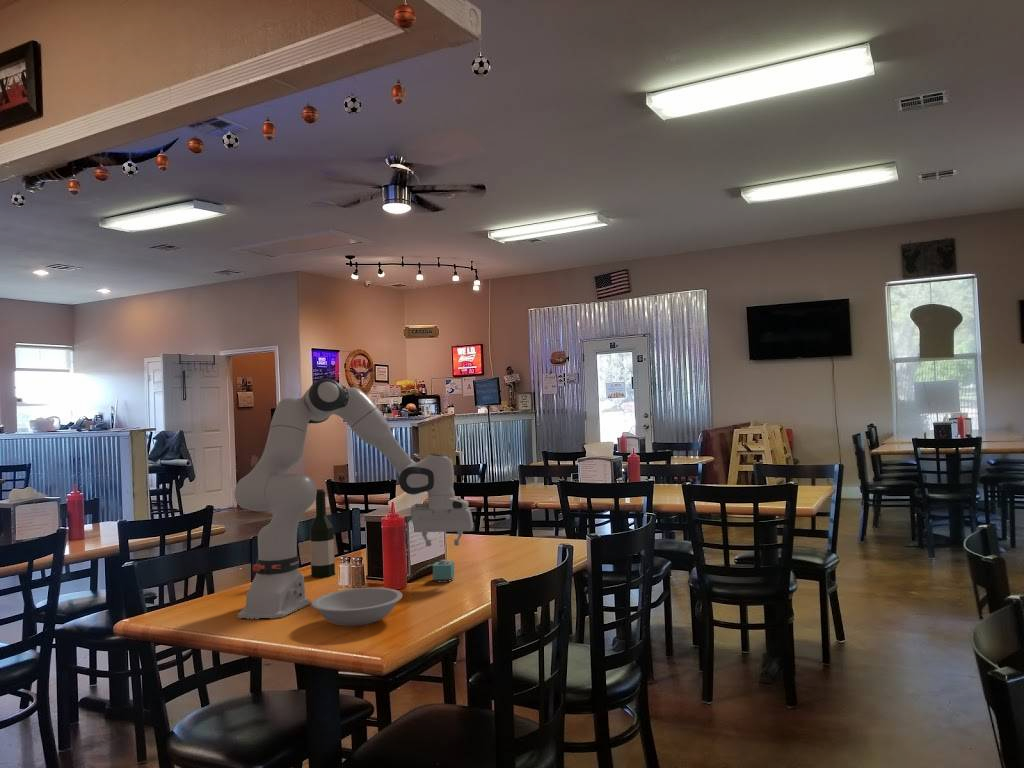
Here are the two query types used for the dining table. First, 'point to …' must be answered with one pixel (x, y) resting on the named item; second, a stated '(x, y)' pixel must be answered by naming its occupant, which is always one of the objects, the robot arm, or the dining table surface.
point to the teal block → (443, 570)
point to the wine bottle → (321, 541)
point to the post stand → (443, 562)
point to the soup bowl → (357, 605)
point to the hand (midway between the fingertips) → (442, 545)
